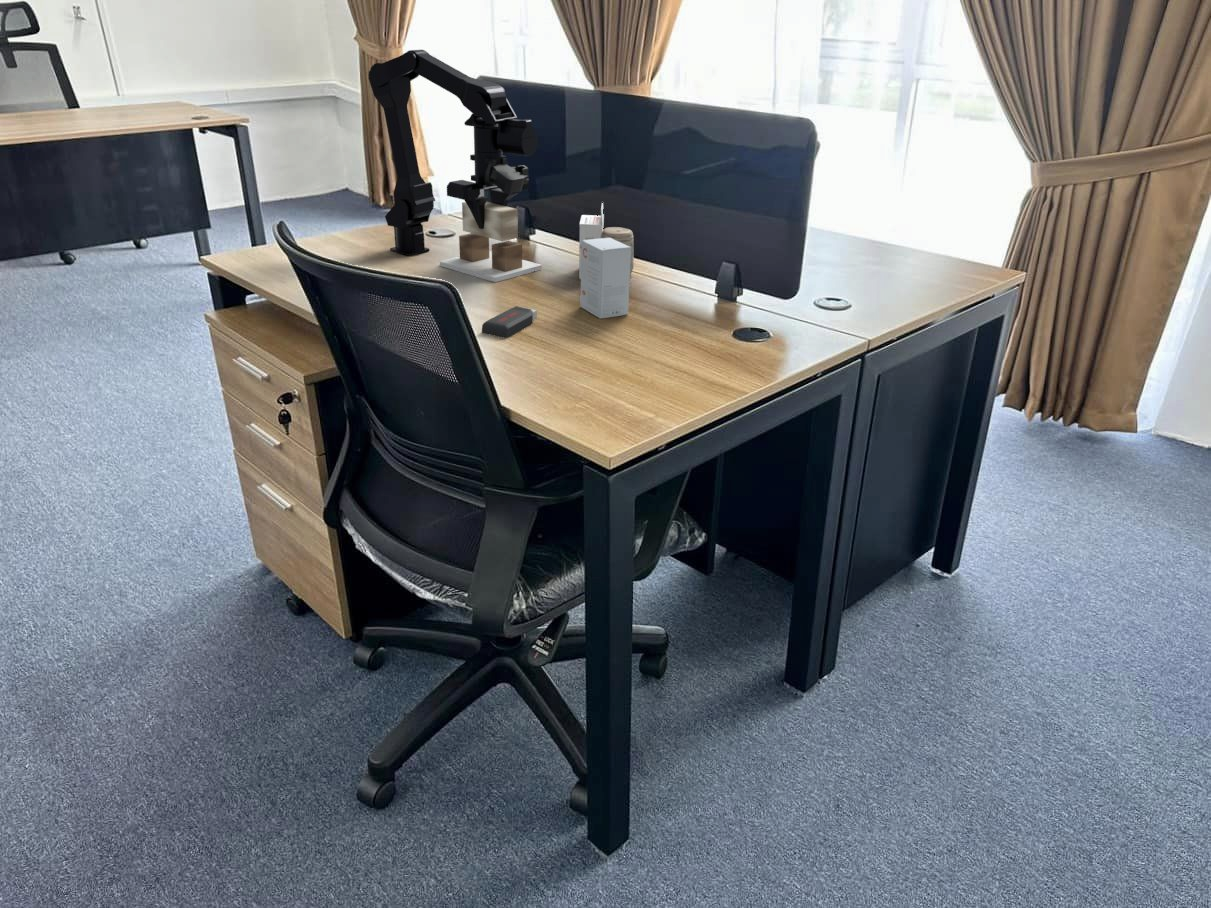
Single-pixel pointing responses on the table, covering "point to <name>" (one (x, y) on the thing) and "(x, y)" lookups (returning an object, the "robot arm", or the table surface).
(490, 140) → the robot arm
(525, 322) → the usb drive
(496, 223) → the maple beam block
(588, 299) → the small box
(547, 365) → the table surface
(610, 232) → the carving
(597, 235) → the ink cartridge box
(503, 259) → the walnut posts
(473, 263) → the grey base board
